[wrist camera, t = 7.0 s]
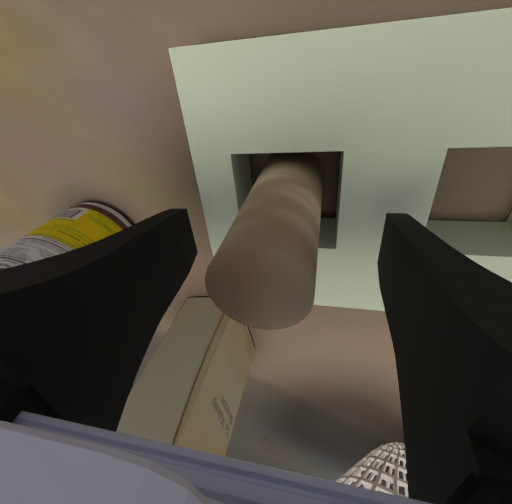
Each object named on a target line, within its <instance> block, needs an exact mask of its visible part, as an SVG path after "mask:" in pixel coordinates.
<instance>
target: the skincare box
mask: <svg viewBox="0 0 512 504" xmlns="http://www.w3.org/2000/svg"><path fill="white" fill-rule="evenodd" d="M254 352H255V349H254V345H253V342H252V339H251V336H250V333H249V330H248V327H247V326H246V325H243V324H241V323H239V322H237V321H235V320H233V319H231V318H230V317H228V316H227V315H225V314H224V313H223V312H222V311H221V310H220V309H219V308H217V306H216V305H215V304H214V303H213V301H212V300H211V298H210V297H190V298H188V299H187V300H186V302H185V304H184V305H183V307H182V308H181V310H180V312H179V313H178V315H177V317H176V318H175V320H174V322H173V323H172V325H171V327H170V328H169V330H168V331H167V333H166V335H165V336H164V338H163V340H162V341H161V343H160V345H159V346H158V348H157V350H156V351H155V353H154V355H153V356H152V358H151V360H150V361H149V363H148V364H147V366H146V368H145V369H144V371H143V373H142V374H141V376H140V378H139V379H138V381H137V383H136V384H135V386H134V387H133V389H132V391H131V392H130V394H129V396H128V398H127V401H126V404H125V407H124V410H123V413H122V416H121V419H120V422H119V425H118V428H117V431H116V432H118V433H123V434H127V435H131V436H136V437H140V438H145V439H149V440H154V441H158V442H162V443H167V444H171V445H176V446H180V447H184V448H189V449H193V450H198V451H202V452H207V453H211V454H215V455H220V456H224V457H225V454H226V450H227V447H228V443H229V440H230V436H231V433H232V429H233V426H234V422H235V419H236V415H237V412H238V408H239V405H240V401H241V398H242V394H243V391H244V387H245V384H246V380H247V376H248V373H249V369H250V366H251V362H252V359H253V355H254Z"/></svg>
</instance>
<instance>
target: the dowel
mask: <svg viewBox="0 0 512 504" xmlns="http://www.w3.org/2000/svg"><path fill="white" fill-rule="evenodd" d="M323 179H324V167H323V163H322V160H321V158H320V156H319V155H318V154H317V152H291V153H272V154H271V155H270V157H269V159H268V160H267V162H266V164H265V166H264V168H263V169H262V171H261V173H260V175H259V177H258V178H257V180H256V182H255V184H254V186H253V187H252V189H251V191H250V193H249V195H248V196H247V198H246V200H245V202H244V204H243V205H242V207H241V209H240V211H239V213H238V214H237V216H236V218H235V220H234V222H233V223H232V225H231V227H230V229H229V230H228V232H227V234H226V236H225V238H224V239H223V241H222V243H221V245H220V247H219V248H218V250H217V252H216V254H215V256H214V257H213V259H212V261H211V263H210V265H209V266H208V269H207V271H206V276H205V284H206V289H207V292H208V294H209V296H210V298H211V300H212V301H213V303H214V304H215V305H216V306H217V308H219V309H220V310H221V311H222V312H223V313H224V314H225V315H227V316H228V317H230V318H231V319H233V320H235V321H237V322H239V323H241V324H243V325H246V326H249V327H253V328H258V329H268V330H271V329H282V328H286V327H289V326H292V325H295V324H297V323H298V322H300V321H301V320H303V319H304V318H305V317H306V316H307V315H308V314H309V312H310V311H311V309H312V307H313V304H314V298H315V285H316V272H317V259H318V245H319V232H320V219H321V205H322V192H323Z"/></svg>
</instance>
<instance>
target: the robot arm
mask: <svg viewBox="0 0 512 504" xmlns="http://www.w3.org/2000/svg"><path fill="white" fill-rule="evenodd" d="M196 255H197V248H196V244H195V240H194V236H193V232H192V229H191V225H190V221H189V217H188V213H187V209H169V210H166V211H163V212H161V213H158V214H156V215H154V216H152V217H149V218H147V219H145V220H143V221H141V222H139V223H136V224H134V225H132V226H130V227H128V228H126V229H124V230H121V231H119V232H117V233H114V234H112V235H110V236H107V237H105V238H103V239H101V240H98V241H96V242H93V243H91V244H88V245H85V246H83V247H80V248H77V249H74V250H71V251H68V252H65V253H62V254H59V255H55V256H51V257H48V258H44V259H41V260H37V261H34V262H30V263H26V264H22V265H18V266H14V267H9V268H5V269H0V504H512V282H510V281H508V280H506V279H505V278H503V277H501V276H499V275H497V274H495V273H493V272H492V271H490V270H488V269H486V268H484V267H483V266H481V265H479V264H478V263H476V262H474V261H473V260H471V259H470V258H468V257H467V256H465V255H464V254H462V253H460V252H459V251H457V250H456V249H455V248H453V247H452V246H450V245H449V244H447V243H446V242H445V241H443V240H442V239H441V238H439V237H438V236H436V235H435V234H434V233H433V232H431V231H430V230H429V229H427V228H426V227H425V226H423V225H422V224H421V223H420V222H418V221H417V220H416V219H414V218H413V217H412V216H410V215H409V214H407V213H386V219H385V224H384V230H383V235H382V240H381V246H380V251H379V257H378V262H377V264H378V277H379V287H380V291H381V296H382V300H383V304H384V308H385V313H386V317H387V321H388V325H389V329H390V333H391V337H392V342H393V346H394V352H395V358H396V366H397V374H398V382H399V391H400V401H401V410H402V420H403V431H404V443H405V454H406V468H407V482H408V496H409V498H406V497H401V496H397V495H392V494H388V493H384V492H379V491H375V490H370V489H366V488H361V487H357V486H353V485H348V484H344V483H339V482H335V481H330V480H326V479H322V478H317V477H313V476H308V475H304V474H299V473H295V472H291V471H286V470H282V469H277V468H273V467H269V466H264V465H260V464H255V463H251V462H246V461H242V460H238V459H233V458H229V457H224V456H220V455H215V454H211V453H207V452H202V451H198V450H193V449H189V448H184V447H180V446H176V445H171V444H167V443H162V442H158V441H154V440H149V439H145V438H140V437H136V436H131V435H127V434H123V433H118V432H116V431H117V428H118V425H119V422H120V419H121V416H122V413H123V410H124V407H125V404H126V401H127V398H128V396H129V393H130V390H131V388H132V385H133V382H134V380H135V377H136V374H137V372H138V369H139V367H140V365H141V362H142V360H143V358H144V355H145V353H146V350H147V348H148V346H149V344H150V342H151V339H152V337H153V335H154V333H155V331H156V329H157V326H158V325H159V323H160V321H161V319H162V317H163V316H164V314H165V312H166V311H167V309H168V307H169V306H170V304H171V302H172V301H173V299H174V297H175V296H176V294H177V293H178V291H179V289H180V288H181V286H182V284H183V283H184V281H185V279H186V277H187V276H188V274H189V272H190V270H191V267H192V265H193V263H194V260H195V257H196Z"/></svg>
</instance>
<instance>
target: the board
mask: <svg viewBox="0 0 512 504" xmlns="http://www.w3.org/2000/svg"><path fill="white" fill-rule="evenodd" d="M168 49H169V54H170V58H171V63H172V68H173V72H174V77H175V82H176V86H177V91H178V96H179V100H180V105H181V110H182V114H183V119H184V123H185V128H186V133H187V137H188V142H189V147H190V151H191V156H192V161H193V165H194V170H195V175H196V179H197V184H198V189H199V193H200V198H201V203H202V207H203V212H204V217H205V221H206V226H207V231H208V235H209V240H210V245H211V249H212V254H213V257H214V256H215V254H216V252H217V250H218V248H219V247H220V245H221V243H222V241H223V239H224V238H225V236H226V234H227V232H228V230H229V229H230V227H231V225H232V223H233V222H234V220H235V218H236V216H237V214H238V213H239V211H240V209H241V207H242V205H243V204H244V202H245V200H246V198H247V196H248V195H249V193H250V191H251V189H252V187H253V184H252V174H251V164H250V155H249V154H254V153H291V152H327V151H341V155H340V168H339V182H338V195H337V209H336V218H321V219H320V232H319V245H318V259H317V272H316V285H315V298H314V304H313V305H322V306H333V307H345V308H356V309H367V310H379V311H385V308H384V304H383V300H382V296H381V291H380V287H379V277H378V264H377V262H378V257H379V251H380V246H381V240H382V235H383V230H384V224H385V219H386V213H407V214H409V215H410V216H412V217H413V218H414V219H416V220H417V221H418V222H420V223H421V224H422V225H423V226H425V227H426V228H427V229H429V230H430V231H431V232H433V233H434V234H435V235H436V236H438V237H439V238H441V239H442V240H443V241H445V242H446V243H447V244H449V245H450V246H452V247H453V248H455V249H456V250H457V251H459V252H460V253H462V254H464V255H465V256H467V257H468V258H470V259H471V260H473V261H474V262H476V263H478V264H479V265H481V266H483V267H484V268H486V269H488V270H490V271H492V272H493V273H495V274H497V275H499V276H501V277H503V278H505V279H506V280H508V281H510V282H512V210H511V213H510V215H509V217H508V219H507V221H506V222H491V221H446V220H428V218H429V214H430V210H431V207H432V203H433V200H434V196H435V193H436V189H437V185H438V182H439V178H440V175H441V171H442V167H443V164H444V160H445V157H446V153H447V150H448V148H474V147H510V146H512V7H511V8H503V9H494V10H486V11H477V12H469V13H461V14H452V15H444V16H435V17H427V18H419V19H410V20H402V21H393V22H385V23H376V24H368V25H360V26H351V27H343V28H334V29H326V30H318V31H309V32H301V33H292V34H284V35H275V36H267V37H259V38H250V39H242V40H233V41H225V42H217V43H208V44H200V45H191V46H183V47H174V48H168Z"/></svg>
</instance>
